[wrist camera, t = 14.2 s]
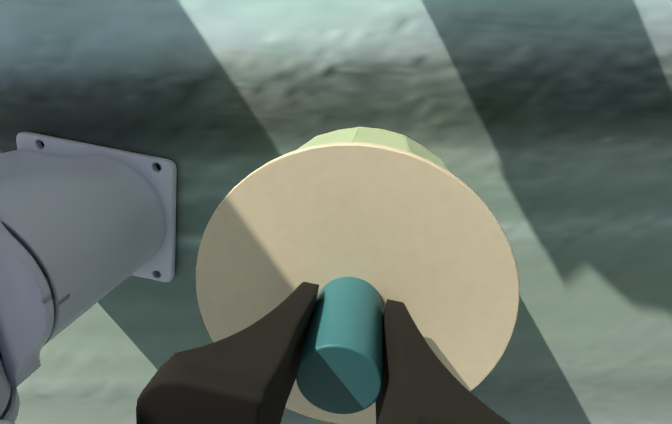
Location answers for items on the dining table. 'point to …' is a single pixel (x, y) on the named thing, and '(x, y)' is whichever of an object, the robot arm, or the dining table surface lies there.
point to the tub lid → (360, 268)
